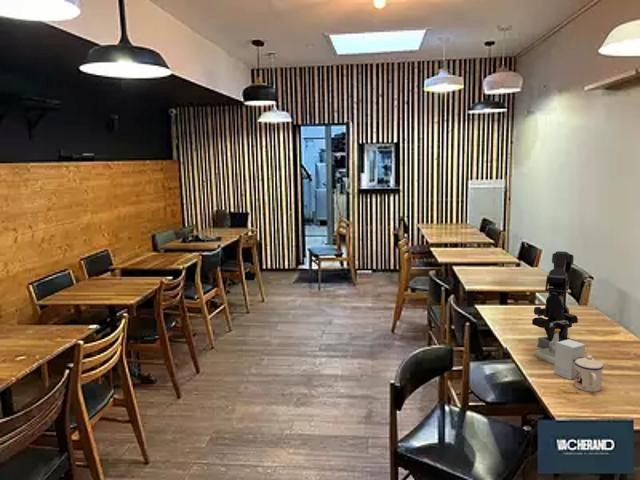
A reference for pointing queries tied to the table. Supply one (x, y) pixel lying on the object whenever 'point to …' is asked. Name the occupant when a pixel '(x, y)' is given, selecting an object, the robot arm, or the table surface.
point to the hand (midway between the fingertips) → (554, 340)
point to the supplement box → (567, 357)
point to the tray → (546, 355)
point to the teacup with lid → (588, 374)
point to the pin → (554, 340)
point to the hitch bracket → (544, 342)
